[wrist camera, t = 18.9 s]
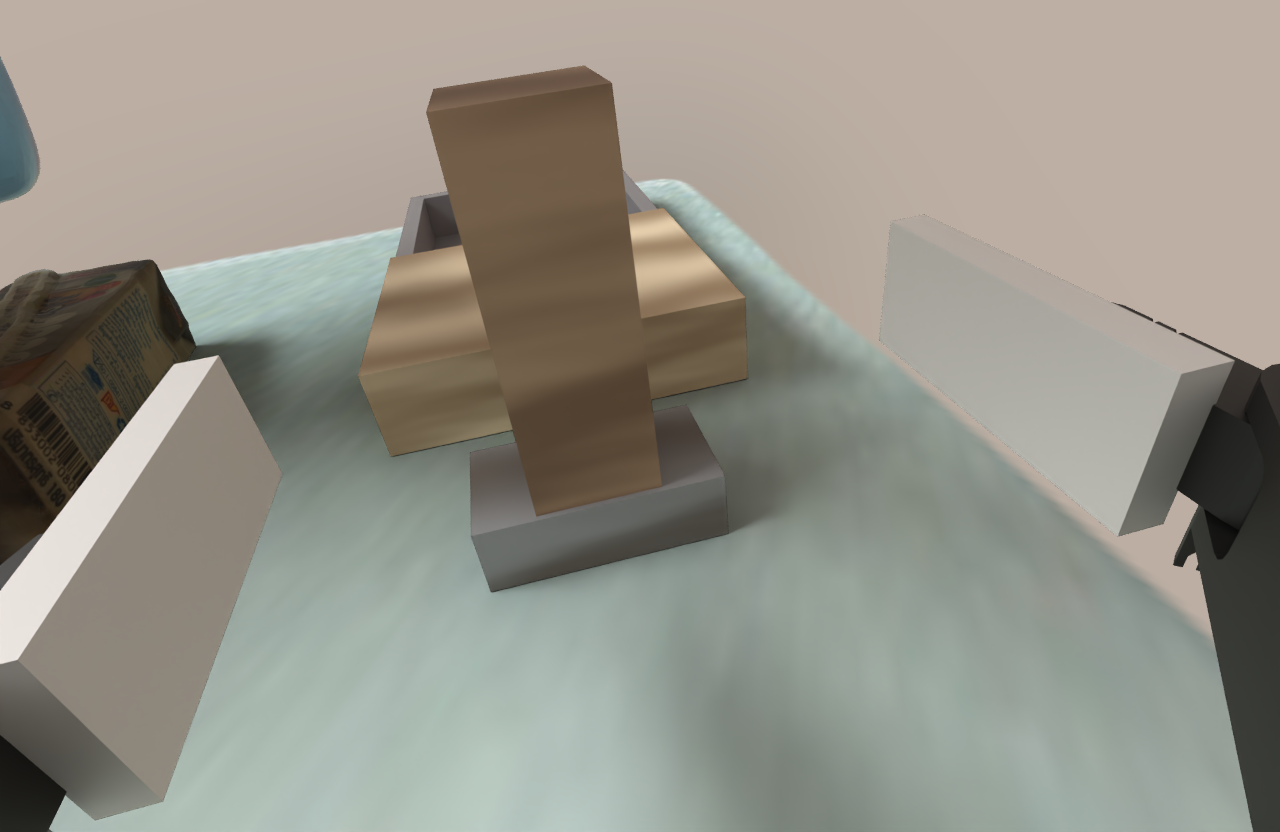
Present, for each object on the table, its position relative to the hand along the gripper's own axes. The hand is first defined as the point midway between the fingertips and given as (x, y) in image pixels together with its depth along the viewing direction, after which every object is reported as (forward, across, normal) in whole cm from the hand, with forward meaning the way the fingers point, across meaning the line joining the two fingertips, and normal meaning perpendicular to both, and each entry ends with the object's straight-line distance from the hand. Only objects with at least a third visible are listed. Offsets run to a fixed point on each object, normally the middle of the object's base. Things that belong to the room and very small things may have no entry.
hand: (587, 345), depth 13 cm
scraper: (+6, 0, -10) cm, 12 cm away
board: (+20, 0, -10) cm, 22 cm away
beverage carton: (+21, -24, -10) cm, 33 cm away
